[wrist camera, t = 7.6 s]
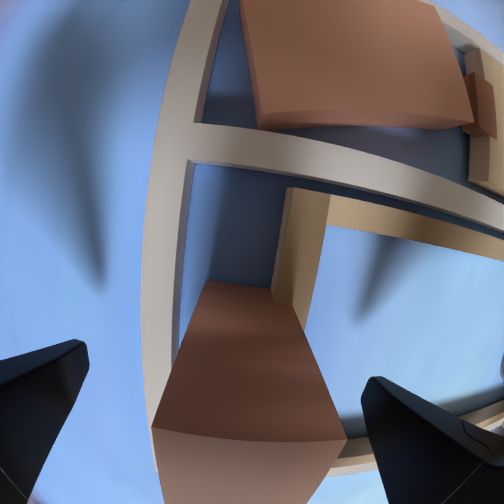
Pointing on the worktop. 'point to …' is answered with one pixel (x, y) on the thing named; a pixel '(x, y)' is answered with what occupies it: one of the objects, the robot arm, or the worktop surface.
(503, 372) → the coffee cup
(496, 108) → the tan long flat piece
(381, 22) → the reddish brown block
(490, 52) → the lane tray
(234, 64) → the worktop surface
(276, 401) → the tan rectangular frame
